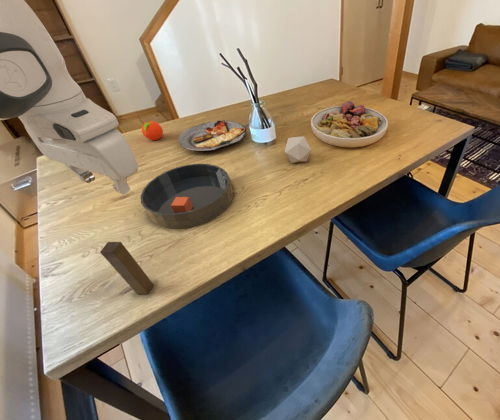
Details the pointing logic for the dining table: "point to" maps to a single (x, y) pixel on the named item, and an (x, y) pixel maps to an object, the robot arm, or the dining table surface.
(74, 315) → the dining table surface
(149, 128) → the clementine
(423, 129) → the dining table surface
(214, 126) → the food plate
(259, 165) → the dining table surface
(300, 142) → the die
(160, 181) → the bowl
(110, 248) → the stick
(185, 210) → the block
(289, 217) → the dining table surface
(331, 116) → the bowl
